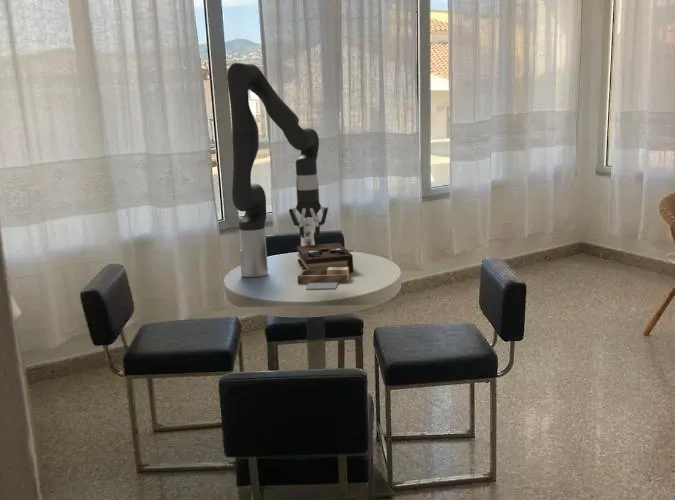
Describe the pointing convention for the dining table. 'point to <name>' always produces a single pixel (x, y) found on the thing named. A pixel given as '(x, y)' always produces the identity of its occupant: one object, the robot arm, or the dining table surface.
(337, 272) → the block
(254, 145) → the robot arm
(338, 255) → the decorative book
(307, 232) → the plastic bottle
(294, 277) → the dining table surface
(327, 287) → the rubber pad
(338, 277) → the shelf bay
